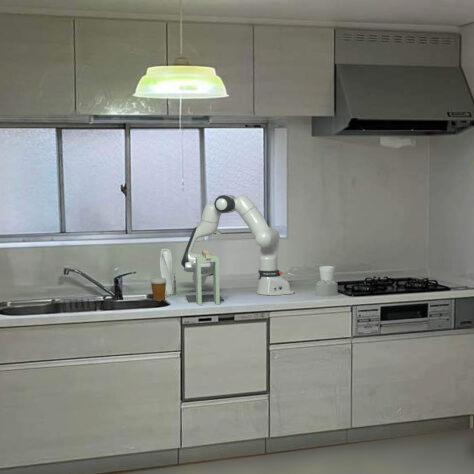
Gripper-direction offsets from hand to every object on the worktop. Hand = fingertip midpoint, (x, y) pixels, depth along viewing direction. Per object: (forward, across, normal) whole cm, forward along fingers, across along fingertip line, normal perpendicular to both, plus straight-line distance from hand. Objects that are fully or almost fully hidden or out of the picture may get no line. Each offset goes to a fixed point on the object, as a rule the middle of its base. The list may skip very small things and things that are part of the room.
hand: (203, 261), depth 421 cm
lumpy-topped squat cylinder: (-4, +71, +23) cm, 75 cm away
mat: (-8, 0, +20) cm, 22 cm away
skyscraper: (-25, -20, +11) cm, 34 cm away
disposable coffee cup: (-11, -26, +19) cm, 34 cm away
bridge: (+6, 0, +28) cm, 29 cm away
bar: (+16, 0, +4) cm, 17 cm away
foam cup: (-27, +80, +10) cm, 85 cm away
